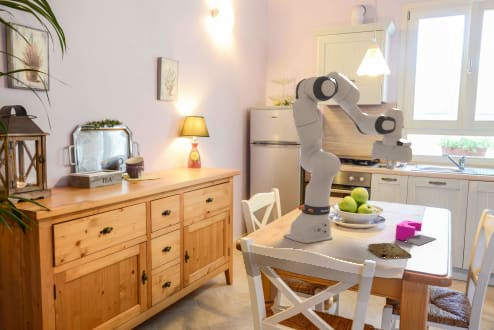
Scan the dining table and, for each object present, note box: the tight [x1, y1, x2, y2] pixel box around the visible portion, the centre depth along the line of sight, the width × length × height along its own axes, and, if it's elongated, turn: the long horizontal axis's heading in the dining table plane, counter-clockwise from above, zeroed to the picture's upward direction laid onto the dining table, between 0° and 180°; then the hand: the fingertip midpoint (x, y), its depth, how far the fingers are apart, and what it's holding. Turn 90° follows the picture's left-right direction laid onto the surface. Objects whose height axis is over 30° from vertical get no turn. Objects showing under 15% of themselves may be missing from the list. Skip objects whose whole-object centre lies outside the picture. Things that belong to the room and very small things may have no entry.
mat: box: [401, 234, 437, 247], centre depth 180 cm, size 16×8×1 cm, turn 130°
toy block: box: [394, 219, 423, 241], centre depth 183 cm, size 15×6×8 cm
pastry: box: [367, 242, 412, 259], centre depth 163 cm, size 17×17×3 cm
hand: (389, 169), depth 198 cm, fingers closed
